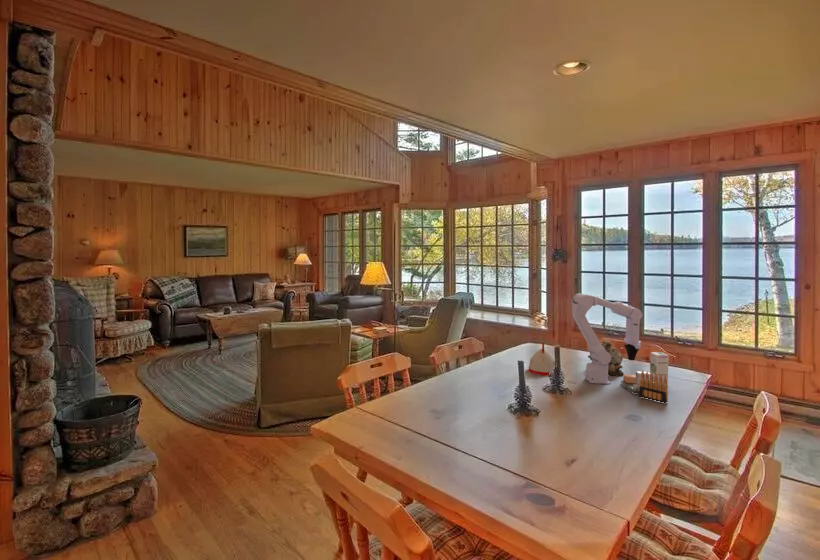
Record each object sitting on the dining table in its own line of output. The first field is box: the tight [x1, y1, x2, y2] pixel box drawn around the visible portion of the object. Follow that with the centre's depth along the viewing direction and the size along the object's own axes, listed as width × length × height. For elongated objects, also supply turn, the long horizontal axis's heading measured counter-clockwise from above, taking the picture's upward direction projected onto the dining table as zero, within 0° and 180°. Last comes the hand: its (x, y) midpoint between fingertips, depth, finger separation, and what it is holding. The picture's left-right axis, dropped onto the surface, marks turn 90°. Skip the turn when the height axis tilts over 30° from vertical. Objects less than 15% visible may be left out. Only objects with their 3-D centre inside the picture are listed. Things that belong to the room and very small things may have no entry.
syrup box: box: [649, 351, 670, 384], centre depth 198 cm, size 6×6×14 cm
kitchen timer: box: [528, 342, 556, 376], centre depth 218 cm, size 14×14×15 cm
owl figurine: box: [587, 339, 624, 377], centre depth 216 cm, size 18×12×17 cm, turn 42°
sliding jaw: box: [622, 374, 636, 383], centre depth 196 cm, size 10×4×3 cm, turn 84°
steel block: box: [635, 370, 650, 385], centre depth 188 cm, size 5×3×7 cm, turn 84°
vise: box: [620, 380, 640, 395], centre depth 191 cm, size 12×14×4 cm
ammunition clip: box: [638, 370, 668, 403], centre depth 176 cm, size 11×2×12 cm, turn 39°
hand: (631, 359), depth 201 cm, fingers closed
